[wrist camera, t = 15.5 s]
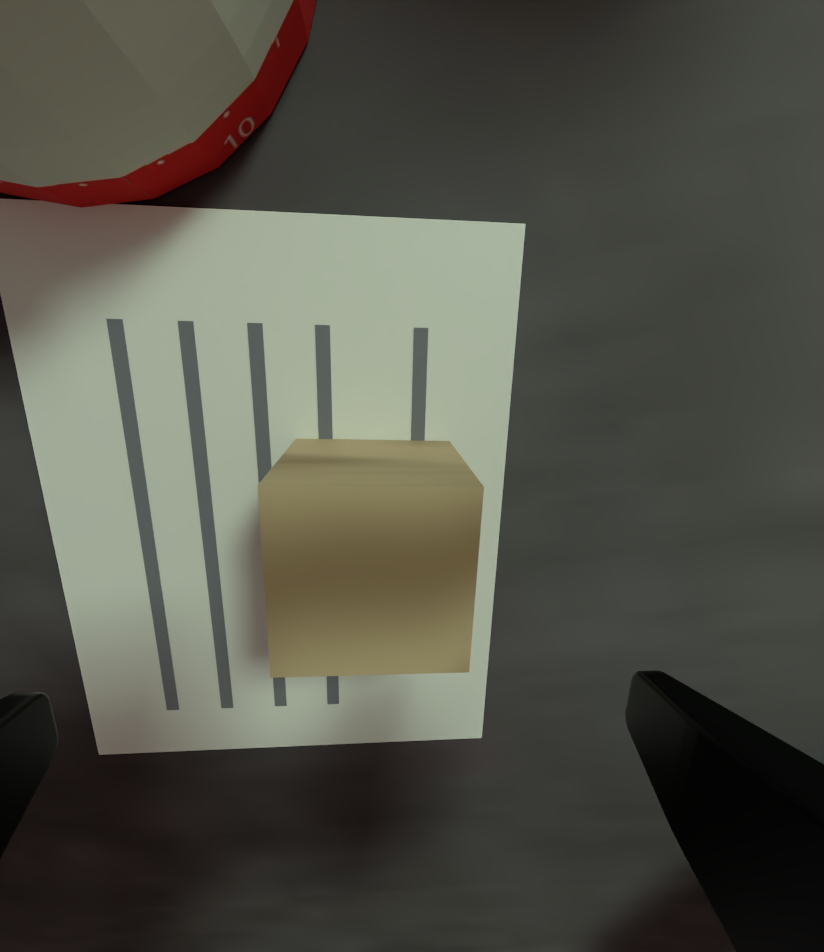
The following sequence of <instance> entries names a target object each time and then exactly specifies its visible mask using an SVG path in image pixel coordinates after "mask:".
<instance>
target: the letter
mask: <svg viewBox="0 0 824 952" xmlns="http://www.w3.org/2000/svg"><path fill="white" fill-rule="evenodd" d="M524 235H525V224H518V223H497V222H477V221H456V220H435V219H414V218H394V217H373V216H352V215H331V214H311V213H290V212H269V211H248V210H228V209H207V208H186V207H165V206H145V205H124V204H107V205H99V206H91V207H82V208H80V207H75V206H69V205H64V204H58V203H53V202H47V201H41V200H20V199H0V295H1V299H2V304H3V309H4V313H5V318H6V323H7V327H8V332H9V337H10V341H11V346H12V351H13V355H14V360H15V365H16V370H17V374H18V379H19V384H20V388H21V393H22V398H23V402H24V407H25V412H26V416H27V421H28V426H29V430H30V435H31V440H32V444H33V449H34V454H35V458H36V463H37V468H38V473H39V477H40V482H41V487H42V491H43V496H44V501H45V505H46V510H47V515H48V519H49V524H50V529H51V533H52V538H53V543H54V547H55V552H56V557H57V562H58V566H59V571H60V576H61V580H62V585H63V590H64V594H65V599H66V604H67V608H68V613H69V618H70V622H71V627H72V632H73V636H74V641H75V646H76V650H77V655H78V660H79V665H80V669H81V674H82V679H83V683H84V688H85V693H86V697H87V702H88V707H89V711H90V716H91V721H92V725H93V730H94V735H95V739H96V744H97V749H98V753H99V755H106V754H128V753H151V752H173V751H196V750H218V749H241V748H264V747H286V746H309V745H331V744H354V743H376V742H399V741H421V740H444V739H466V738H482V728H483V716H484V704H485V692H486V681H487V669H488V657H489V646H490V634H491V622H492V610H493V599H494V587H495V575H496V563H497V552H498V540H499V528H500V516H501V505H502V493H503V481H504V470H505V458H506V446H507V434H508V423H509V411H510V399H511V387H512V376H513V364H514V352H515V341H516V329H517V317H518V305H519V294H520V282H521V270H522V258H523V247H524ZM295 439H356V440H418V441H450V442H451V443H452V445H453V446H454V448H455V449H456V450H457V452H458V453H459V454H460V456H461V457H462V458H463V460H464V461H465V462H466V464H467V465H468V466H469V468H470V469H471V470H472V472H473V473H474V474H475V476H476V477H477V478H478V480H479V481H480V482H481V484H482V485H483V486H484V494H483V506H482V518H481V531H480V543H479V556H478V568H477V581H476V593H475V605H474V618H473V630H472V643H471V655H470V668H469V672H466V673H428V674H390V675H353V676H315V677H277V678H270V667H269V652H268V637H267V622H266V607H265V592H264V576H263V561H262V546H261V531H260V516H259V501H258V484H259V483H260V482H261V480H262V479H263V478H264V477H265V476H266V474H267V473H268V472H269V471H270V470H271V468H272V467H273V466H274V465H275V463H276V462H277V461H278V460H279V459H280V457H281V456H282V455H283V454H284V453H285V451H286V450H287V449H288V448H289V446H290V445H291V444H292V443H293V442H294V440H295Z"/></svg>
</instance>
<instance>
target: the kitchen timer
mask: <svg viewBox="0 0 824 952" xmlns="http://www.w3.org/2000/svg"><path fill="white" fill-rule="evenodd" d="M315 5H316V0H0V193H4V194H9V195H15V196H20V197H26V198H31V199H36V200H42V201H47V202H53V203H58V204H64V205H69V206H75V207H80V208H82V207H91V206H99V205H107V204H115V203H123V202H132V201H140V200H148V199H155V198H157V197H159V196H161V195H163V194H165V193H167V192H169V191H171V190H173V189H175V188H177V187H179V186H181V185H183V184H185V183H187V182H189V181H191V180H193V179H195V178H197V177H199V176H202V175H204V174H206V173H208V172H210V171H212V170H214V169H216V168H218V167H219V166H220V165H221V164H222V163H223V162H224V161H225V160H226V159H227V158H228V157H229V156H230V155H231V154H232V153H233V152H234V151H235V150H236V149H237V148H238V147H239V146H240V145H241V144H242V143H243V142H244V141H245V140H246V139H247V138H248V137H249V136H250V135H251V134H252V133H253V132H254V131H255V130H256V129H257V128H258V127H259V126H260V125H261V124H262V122H263V121H264V120H265V119H266V118H267V117H268V116H269V115H270V114H271V113H272V111H273V109H274V107H275V105H276V103H277V101H278V99H279V97H280V95H281V93H282V91H283V89H284V87H285V85H286V83H287V81H288V79H289V77H290V75H291V73H292V71H293V69H294V67H295V65H296V63H297V62H298V60H299V58H300V56H301V54H302V52H303V50H304V48H305V46H306V44H307V42H308V39H309V34H310V29H311V24H312V19H313V14H314V10H315Z"/></svg>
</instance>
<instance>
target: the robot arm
mask: <svg viewBox="0 0 824 952" xmlns="http://www.w3.org/2000/svg"><path fill="white" fill-rule="evenodd" d="M625 718H626V724H627V727H628V730H629V732H630V735H631V737H632V739H633V742H634V744H635V746H636V749H637V751H638V753H639V756H640V758H641V760H642V763H643V765H644V767H645V770H646V772H647V774H648V777H649V779H650V781H651V784H652V786H653V788H654V791H655V793H656V795H657V798H658V800H659V802H660V805H661V807H662V809H663V812H664V814H665V816H666V818H667V820H668V823H669V825H670V827H671V829H672V831H673V833H674V835H675V837H676V839H677V841H678V843H679V845H680V847H681V849H682V851H683V853H684V855H685V857H686V859H687V860H688V862H689V864H690V866H691V868H692V870H693V872H694V874H695V875H696V877H697V879H698V881H699V883H700V885H701V887H702V889H703V891H704V892H705V894H706V896H707V898H708V900H709V902H710V904H711V906H712V907H713V909H714V911H715V913H716V915H717V917H718V919H719V921H720V922H721V924H722V926H723V928H724V930H725V932H726V934H727V936H728V937H729V939H730V941H731V943H732V945H733V947H734V949H735V951H736V952H824V764H822V763H820V762H819V761H817V760H815V759H813V758H812V757H810V756H808V755H807V754H805V753H803V752H801V751H800V750H798V749H796V748H794V747H793V746H791V745H789V744H787V743H786V742H784V741H782V740H780V739H779V738H777V737H775V736H773V735H772V734H770V733H768V732H767V731H765V730H763V729H761V728H760V727H758V726H756V725H754V724H753V723H751V722H749V721H747V720H746V719H744V718H742V717H740V716H739V715H737V714H735V713H733V712H732V711H730V710H728V709H727V708H725V707H723V706H721V705H720V704H718V703H716V702H714V701H713V700H711V699H709V698H707V697H706V696H704V695H702V694H700V693H699V692H697V691H695V690H693V689H692V688H690V687H688V686H687V685H685V684H683V683H681V682H680V681H678V680H676V679H674V678H673V677H671V676H669V675H667V674H666V673H664V672H661V671H638V672H636V673H635V674H634V675H633V676H632V680H631V684H630V690H629V695H628V700H627V705H626V710H625ZM57 745H58V732H57V728H56V724H55V719H54V715H53V711H52V707H51V703H50V699H49V697H48V696H47V695H46V694H45V693H42V692H23V693H13V694H10V695H8V696H6V697H4V698H2V699H0V858H1V856H2V855H3V853H4V851H5V849H6V847H7V845H8V843H9V841H10V839H11V837H12V835H13V833H14V832H15V830H16V828H17V826H18V824H19V822H20V820H21V818H22V816H23V814H24V812H25V810H26V809H27V807H28V805H29V803H30V801H31V799H32V797H33V795H34V793H35V791H36V789H37V787H38V785H39V784H40V782H41V780H42V778H43V776H44V774H45V772H46V770H47V768H48V766H49V764H50V762H51V761H52V759H53V757H54V754H55V752H56V749H57Z"/></svg>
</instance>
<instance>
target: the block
mask: <svg viewBox="0 0 824 952" xmlns="http://www.w3.org/2000/svg"><path fill="white" fill-rule="evenodd" d="M483 494H484V486H483V485H482V484H481V482H480V481H479V480H478V478H477V477H476V476H475V474H474V473H473V472H472V470H471V469H470V468H469V466H468V465H467V464H466V462H465V461H464V460H463V458H462V457H461V456H460V454H459V453H458V452H457V450H456V449H455V448H454V446H453V445H452V443H451V442H450V441H418V440H356V439H295V440H294V442H293V443H292V444H291V445H290V446H289V448H288V449H287V450H286V451H285V453H284V454H283V455H282V456H281V457H280V459H279V460H278V461H277V462H276V463H275V465H274V466H273V467H272V468H271V470H270V471H269V472H268V473H267V474H266V476H265V477H264V478H263V479H262V480H261V482H260V483H259V484H258V501H259V516H260V531H261V546H262V561H263V576H264V592H265V607H266V622H267V637H268V652H269V667H270V678H277V677H315V676H353V675H390V674H428V673H466V672H469V668H470V655H471V643H472V630H473V618H474V605H475V593H476V581H477V568H478V556H479V543H480V531H481V518H482V506H483Z"/></svg>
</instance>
